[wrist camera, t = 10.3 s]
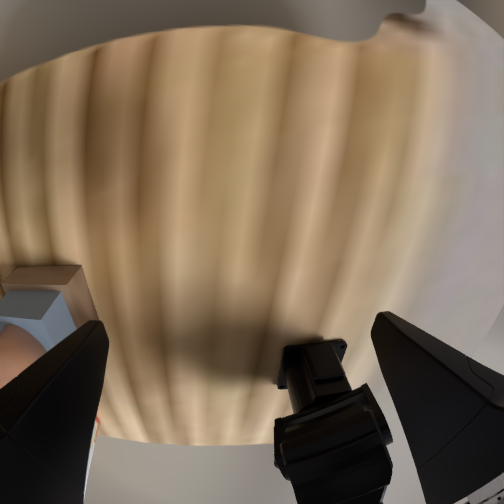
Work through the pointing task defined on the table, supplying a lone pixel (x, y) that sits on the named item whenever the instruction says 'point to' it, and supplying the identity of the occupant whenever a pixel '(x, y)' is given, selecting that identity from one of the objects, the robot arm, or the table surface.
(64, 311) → the tower middle
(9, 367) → the terracotta cylinder
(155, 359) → the table surface
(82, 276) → the tower base
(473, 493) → the robot arm
